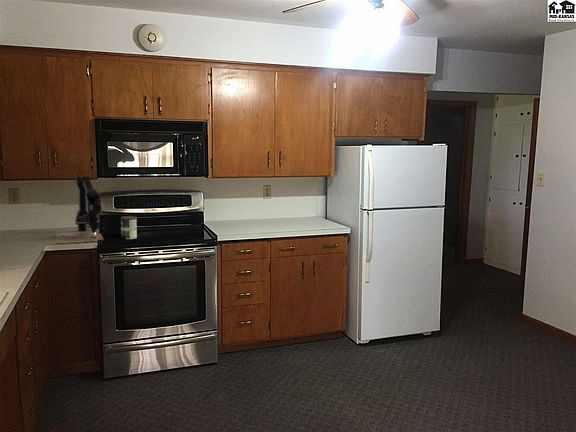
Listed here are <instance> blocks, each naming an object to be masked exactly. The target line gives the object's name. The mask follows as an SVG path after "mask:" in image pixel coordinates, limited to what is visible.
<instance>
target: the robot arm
mask: <svg viewBox="0 0 576 432" xmlns="http://www.w3.org/2000/svg"><path fill="white" fill-rule="evenodd" d="M76 178H77V179H76V180H75V179H74V183H75V186H76V188H77V189H78V210H77V212H76V216H75V219H74V225H76V226H77V231H78V232H79V233H85V232H86V231H88V230H87V228H88V227H87V225H88V226H89V227H90V228H91V232H97V228H98V227H99V226H100V221H99V218H98V213H100V212H101V211H102V206H101V204H99V203H101V197H100V194H99V193H98V191H97V189H95V188H93V185H92V182H91V181H90V179H91V178H90V176H88V175H81V176H76Z"/></svg>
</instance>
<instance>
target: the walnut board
mask: <svg viewBox="0 0 576 432" xmlns="http://www.w3.org/2000/svg"><path fill="white" fill-rule="evenodd" d="M96 234H97V237H98V238H83V237H64V236H63V237H57V235H56V236H55V245H64V244H66V245H67V244H82V243H83V244H84V243H85V244H86V243H99V242H103V243H104V237H103V235H102V233H96ZM90 235H91V233H90Z"/></svg>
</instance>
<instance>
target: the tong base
mask: <svg viewBox="0 0 576 432" xmlns="http://www.w3.org/2000/svg"><path fill="white" fill-rule="evenodd" d="M90 234H91V232H79V233H78V232H77V233H57V235H56V236H57V237H63V236H64V235H90Z"/></svg>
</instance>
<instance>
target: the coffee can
mask: <svg viewBox="0 0 576 432" xmlns="http://www.w3.org/2000/svg"><path fill="white" fill-rule="evenodd" d="M137 218H138V217H137V216H134V215H128V216H127V215H125V216H124V215H123V216H121V217H120V231H121V232H120V236H121V237H122V238H125V239H126V240H133V239H137V237H138V234H137Z"/></svg>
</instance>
